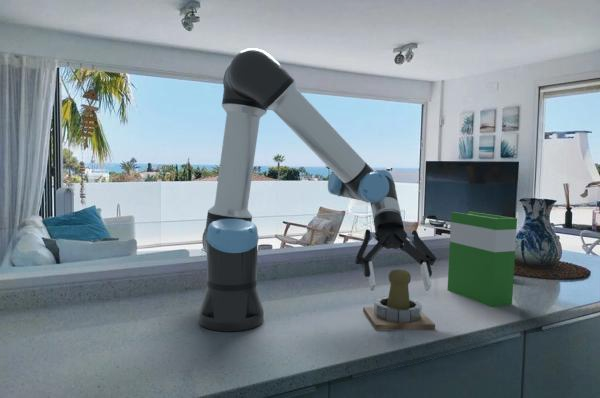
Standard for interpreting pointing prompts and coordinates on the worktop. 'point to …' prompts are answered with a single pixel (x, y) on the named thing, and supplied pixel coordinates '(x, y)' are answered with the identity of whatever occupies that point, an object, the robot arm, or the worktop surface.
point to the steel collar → (397, 311)
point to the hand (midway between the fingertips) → (400, 288)
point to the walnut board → (386, 325)
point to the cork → (399, 289)
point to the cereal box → (482, 257)
